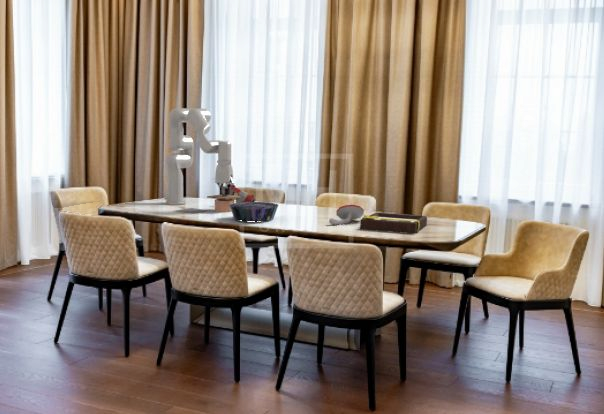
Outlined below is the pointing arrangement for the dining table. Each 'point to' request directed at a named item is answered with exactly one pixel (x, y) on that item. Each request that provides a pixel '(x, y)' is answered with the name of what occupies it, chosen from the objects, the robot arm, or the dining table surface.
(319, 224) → the dining table surface
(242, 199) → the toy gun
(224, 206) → the terracotta pot
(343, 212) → the mushroom
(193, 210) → the charcoal tray
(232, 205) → the decorative bowl
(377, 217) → the dark brown open box
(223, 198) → the walnut lid
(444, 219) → the dining table surface
